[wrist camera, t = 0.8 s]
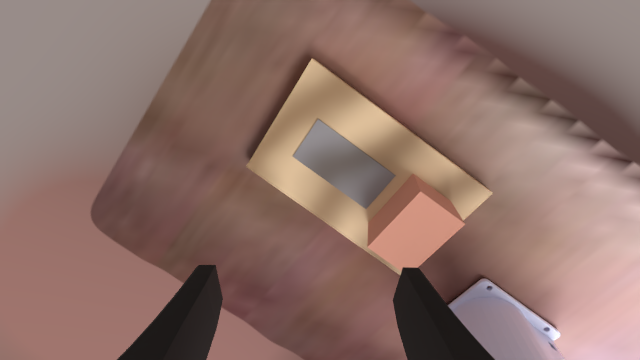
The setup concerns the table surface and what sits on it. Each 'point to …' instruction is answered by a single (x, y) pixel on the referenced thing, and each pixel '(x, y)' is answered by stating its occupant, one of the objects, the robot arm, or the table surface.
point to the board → (351, 157)
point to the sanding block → (412, 224)
